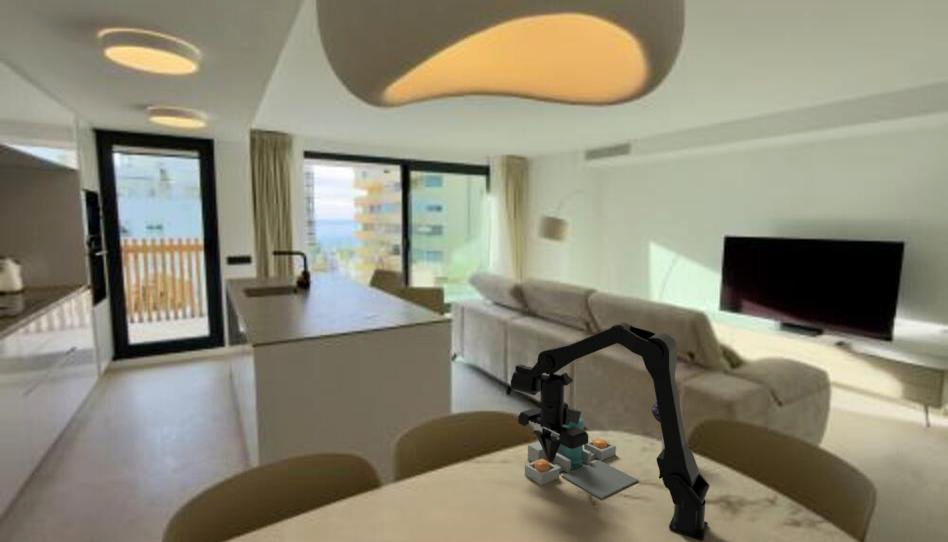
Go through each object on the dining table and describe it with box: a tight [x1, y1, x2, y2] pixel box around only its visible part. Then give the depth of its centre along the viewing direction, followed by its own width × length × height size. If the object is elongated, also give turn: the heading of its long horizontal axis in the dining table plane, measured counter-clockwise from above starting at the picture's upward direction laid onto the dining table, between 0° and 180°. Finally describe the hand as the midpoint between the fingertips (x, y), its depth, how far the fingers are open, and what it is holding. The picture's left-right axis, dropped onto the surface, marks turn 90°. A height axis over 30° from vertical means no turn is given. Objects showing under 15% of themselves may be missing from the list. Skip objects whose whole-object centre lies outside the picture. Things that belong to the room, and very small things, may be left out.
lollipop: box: [651, 401, 664, 451], centre depth 129 cm, size 7×7×15 cm
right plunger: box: [593, 438, 608, 449], centre depth 129 cm, size 4×4×3 cm
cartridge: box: [562, 417, 585, 470], centre depth 122 cm, size 5×5×12 cm
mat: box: [561, 459, 639, 500], centre depth 115 cm, size 12×14×1 cm
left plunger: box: [535, 460, 550, 473], centre depth 116 cm, size 4×4×3 cm
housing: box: [524, 437, 617, 486], centre depth 124 cm, size 12×28×4 cm, turn 126°
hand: (550, 461), depth 115 cm, fingers closed
